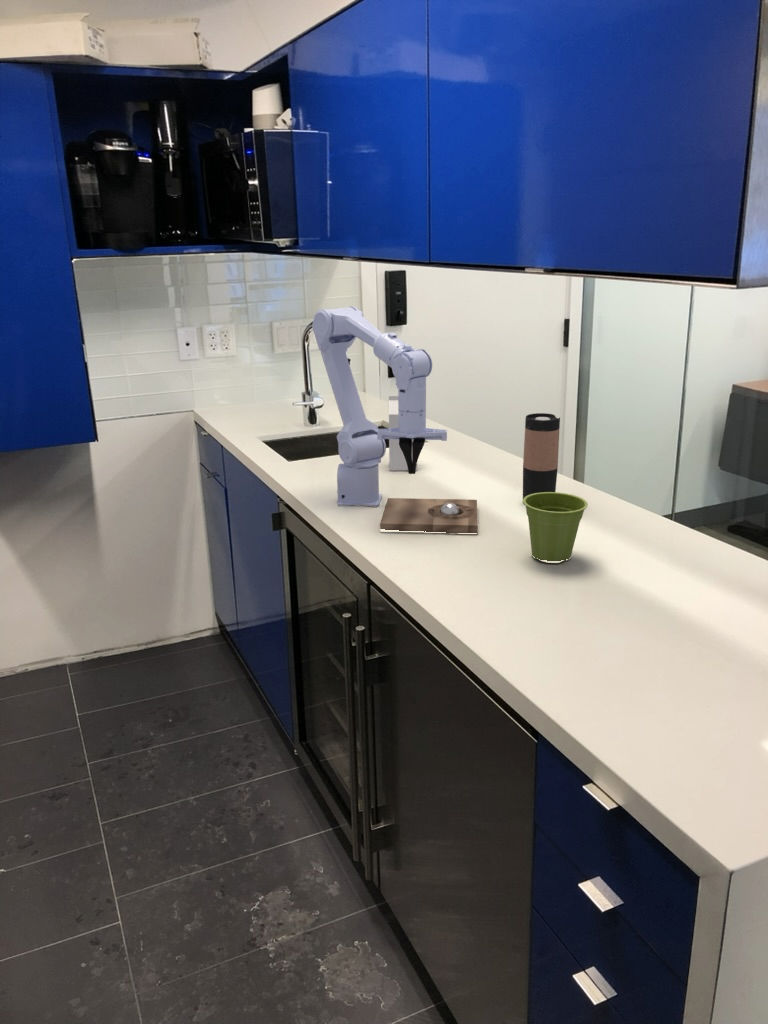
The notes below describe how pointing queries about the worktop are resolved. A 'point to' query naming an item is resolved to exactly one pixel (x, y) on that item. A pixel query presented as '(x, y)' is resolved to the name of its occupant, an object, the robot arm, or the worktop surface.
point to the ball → (449, 509)
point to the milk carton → (395, 452)
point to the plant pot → (553, 523)
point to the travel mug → (540, 453)
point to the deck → (429, 515)
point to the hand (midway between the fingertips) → (412, 472)
